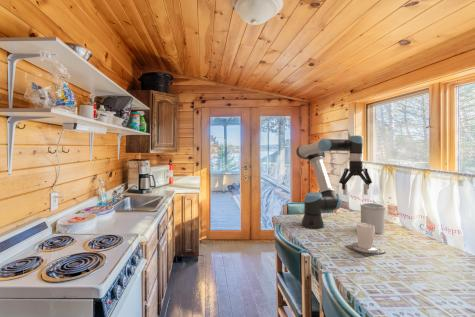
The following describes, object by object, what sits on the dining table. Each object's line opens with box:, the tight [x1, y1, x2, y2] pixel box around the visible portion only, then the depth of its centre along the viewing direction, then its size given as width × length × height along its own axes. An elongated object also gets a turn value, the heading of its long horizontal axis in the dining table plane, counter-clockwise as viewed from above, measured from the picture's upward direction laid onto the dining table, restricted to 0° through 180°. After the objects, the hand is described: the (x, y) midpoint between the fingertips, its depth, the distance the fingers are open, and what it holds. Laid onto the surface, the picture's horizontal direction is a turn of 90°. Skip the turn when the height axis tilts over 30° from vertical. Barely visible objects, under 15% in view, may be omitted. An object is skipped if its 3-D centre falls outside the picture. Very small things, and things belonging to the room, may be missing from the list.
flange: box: [344, 241, 387, 258], centre depth 135 cm, size 14×14×2 cm
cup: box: [355, 222, 376, 249], centre depth 134 cm, size 9×9×12 cm
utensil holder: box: [360, 202, 386, 235], centre depth 167 cm, size 15×15×18 cm
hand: (355, 194), depth 153 cm, fingers open, 13 cm apart
